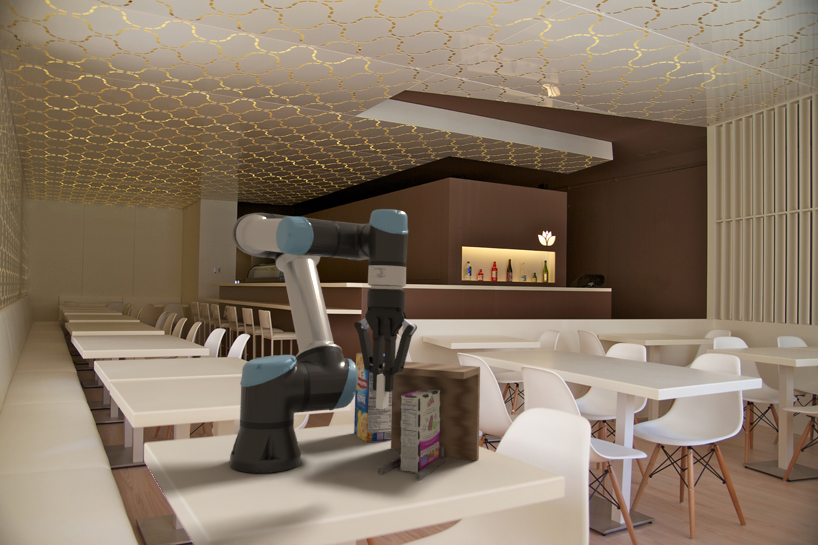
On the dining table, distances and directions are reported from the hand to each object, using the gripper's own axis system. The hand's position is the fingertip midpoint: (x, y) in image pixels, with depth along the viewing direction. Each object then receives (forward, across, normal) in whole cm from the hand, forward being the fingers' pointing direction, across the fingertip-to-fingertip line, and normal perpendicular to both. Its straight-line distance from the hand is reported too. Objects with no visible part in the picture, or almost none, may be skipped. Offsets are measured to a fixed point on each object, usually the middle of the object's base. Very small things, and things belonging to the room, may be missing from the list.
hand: (382, 407), depth 112 cm
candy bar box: (+16, +2, +17) cm, 23 cm away
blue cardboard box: (+17, -20, +37) cm, 45 cm away
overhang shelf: (+16, +1, +18) cm, 24 cm away
